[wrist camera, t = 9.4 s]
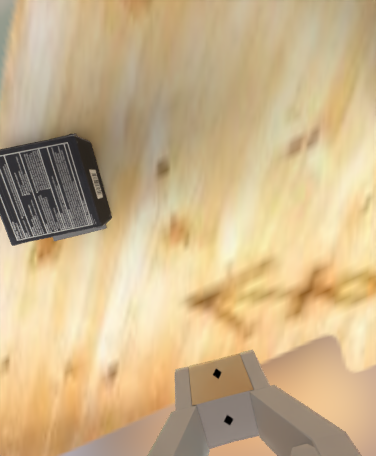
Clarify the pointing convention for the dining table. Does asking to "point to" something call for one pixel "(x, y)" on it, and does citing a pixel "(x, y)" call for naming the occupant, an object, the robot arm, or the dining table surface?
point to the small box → (51, 189)
